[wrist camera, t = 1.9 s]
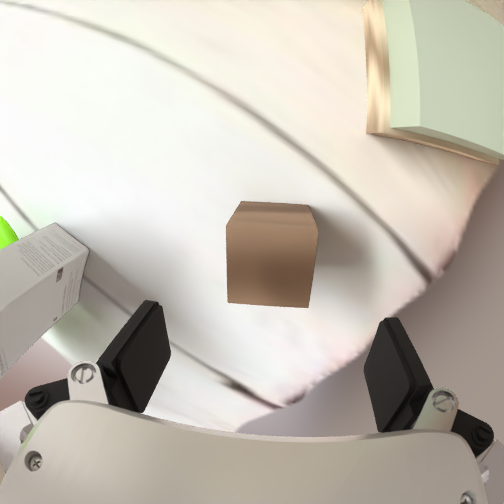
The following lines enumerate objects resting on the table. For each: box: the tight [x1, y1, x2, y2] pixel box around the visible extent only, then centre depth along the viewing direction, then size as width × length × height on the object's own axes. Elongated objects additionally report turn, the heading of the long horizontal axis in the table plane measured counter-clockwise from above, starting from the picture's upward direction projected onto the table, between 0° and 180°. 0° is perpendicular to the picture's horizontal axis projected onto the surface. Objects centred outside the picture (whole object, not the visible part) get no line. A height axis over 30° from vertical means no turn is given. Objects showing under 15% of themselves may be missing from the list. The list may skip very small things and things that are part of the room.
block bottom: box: [362, 0, 500, 165], centre depth 13 cm, size 11×11×4 cm
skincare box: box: [0, 223, 89, 379], centre depth 18 cm, size 8×6×15 cm
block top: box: [382, 0, 504, 160], centre depth 9 cm, size 10×10×4 cm
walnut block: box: [226, 201, 319, 308], centre depth 18 cm, size 5×5×6 cm
